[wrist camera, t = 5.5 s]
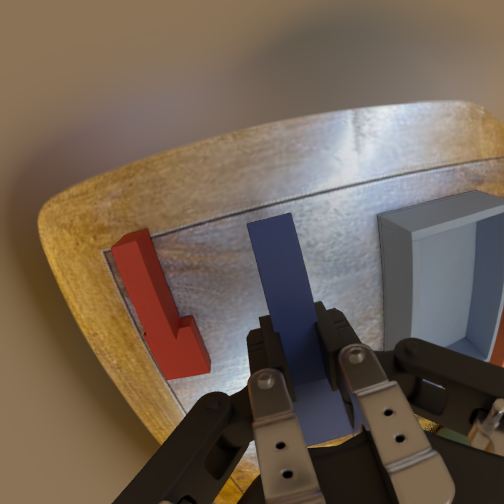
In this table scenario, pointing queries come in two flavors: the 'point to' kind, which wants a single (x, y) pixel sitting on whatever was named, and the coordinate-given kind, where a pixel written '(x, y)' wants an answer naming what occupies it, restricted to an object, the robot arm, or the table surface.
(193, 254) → the table surface
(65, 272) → the table surface
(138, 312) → the red stepped block
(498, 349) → the red bin
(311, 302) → the blue bar
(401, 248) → the blue bin
